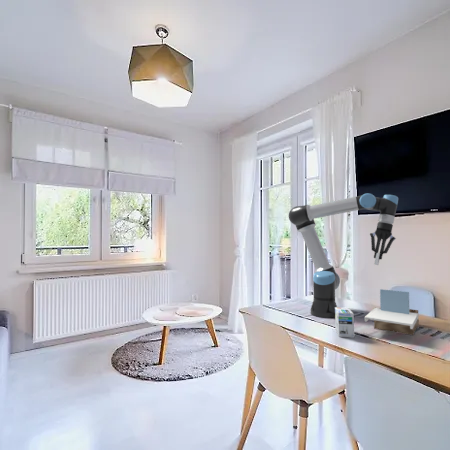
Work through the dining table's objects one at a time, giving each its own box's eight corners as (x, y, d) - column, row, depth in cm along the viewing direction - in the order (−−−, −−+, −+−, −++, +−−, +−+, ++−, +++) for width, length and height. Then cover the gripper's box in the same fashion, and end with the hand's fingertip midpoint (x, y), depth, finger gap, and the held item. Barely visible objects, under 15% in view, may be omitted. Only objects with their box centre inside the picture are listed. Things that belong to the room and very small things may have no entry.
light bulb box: (354, 338, 134) (354, 313, 134) (338, 337, 135) (338, 312, 135) (349, 330, 144) (349, 307, 144) (334, 329, 145) (334, 306, 146)
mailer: (374, 328, 147) (373, 313, 147) (382, 319, 162) (382, 305, 163) (413, 335, 137) (412, 319, 137) (418, 324, 153) (418, 310, 153)
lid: (364, 321, 138) (364, 294, 138) (375, 311, 154) (374, 287, 154) (412, 329, 126) (411, 299, 127) (418, 317, 143) (417, 291, 143)
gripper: (371, 220, 171) (362, 261, 171) (397, 223, 163) (387, 267, 163) (374, 222, 177) (365, 262, 177) (400, 225, 168) (390, 268, 168)
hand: (376, 264), depth 170 cm, fingers closed
